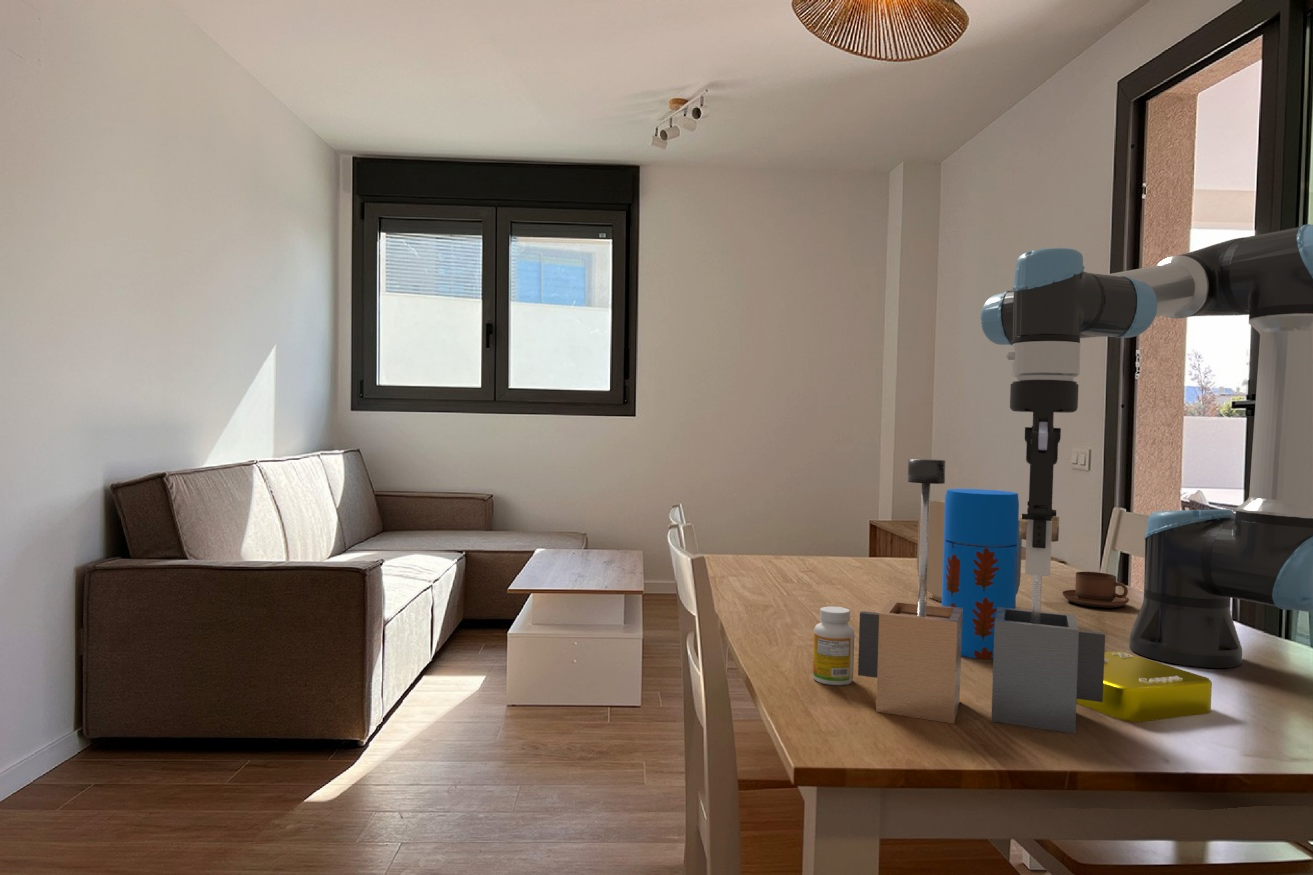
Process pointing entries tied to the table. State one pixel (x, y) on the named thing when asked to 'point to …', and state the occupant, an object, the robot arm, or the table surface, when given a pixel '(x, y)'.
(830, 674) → the supplement bottle
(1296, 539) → the robot arm
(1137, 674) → the element tile
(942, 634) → the light wood box
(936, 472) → the grey capped rod
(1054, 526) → the tan and silver rod
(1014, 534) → the thermos
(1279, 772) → the table surface
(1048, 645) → the grey box
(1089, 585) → the cup and saucer
